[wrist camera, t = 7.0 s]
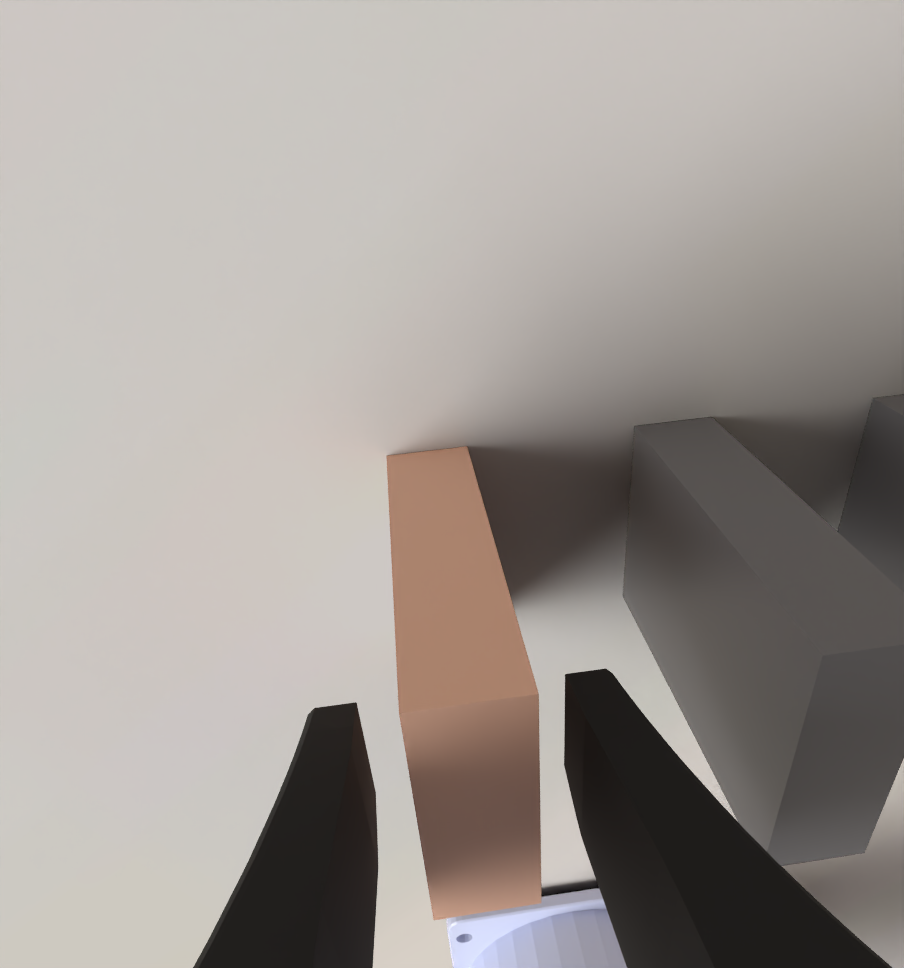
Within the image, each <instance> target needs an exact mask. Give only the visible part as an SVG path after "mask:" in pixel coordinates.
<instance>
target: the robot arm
mask: <svg viewBox="0 0 904 968" xmlns="http://www.w3.org/2000/svg"><path fill="white" fill-rule="evenodd" d="M564 766H565V770H566V774H567V779H568V783H569V787H570V791H571V796H572V800H573V804H574V808H575V812H576V816H577V820H578V824H579V828H580V833H581V836H582V839H583V842H584V845H585V848H586V851H587V854H588V857H589V860H590V863H591V866H592V869H593V871H594V874H595V877H596V880H597V883H598V886H599V888H595V889H589V890H582V891H576V892H569V893H563V894H556V895H550V896H543V897H541V903H540V904H534V905H528V906H521V907H515V908H508V909H502V910H496V911H489V912H483V913H477V914H470V915H464V916H458V917H451V918H447V931H448V938H449V944H450V951H451V957H452V964H453V968H892V967H891V966H890V965H889V964H887V963H886V962H885V961H884V960H883V959H882V958H880V957H879V956H878V955H877V954H876V953H875V952H874V951H872V950H871V949H870V948H869V947H868V946H867V945H866V944H864V943H863V942H862V941H861V940H860V939H859V938H857V937H856V936H855V935H854V934H853V933H852V932H851V931H850V930H849V929H848V928H846V927H845V926H844V925H843V924H842V923H841V922H840V921H839V920H838V919H837V918H836V917H834V916H833V915H832V914H831V913H830V912H829V911H828V910H827V909H826V908H825V907H823V906H822V905H821V904H820V903H819V902H818V901H817V900H816V899H815V898H814V897H813V896H812V895H811V894H810V893H808V892H807V891H806V890H805V889H804V888H803V887H802V886H801V885H800V884H799V883H798V882H797V881H796V880H795V879H794V878H793V877H792V876H791V875H790V874H789V873H788V872H787V871H786V870H785V869H784V868H783V867H782V866H781V865H780V864H778V863H777V862H776V861H775V860H774V859H773V858H772V856H771V855H770V854H769V853H768V852H767V851H766V850H765V849H764V848H763V847H762V846H761V845H760V844H759V843H758V842H757V841H756V840H755V839H754V838H753V837H752V836H751V835H750V834H749V833H748V832H747V831H746V830H745V829H744V828H743V827H742V826H741V825H740V824H739V823H738V822H737V821H736V820H735V819H734V817H733V816H732V815H731V814H730V813H729V812H728V811H727V810H726V809H725V808H724V807H723V806H722V805H721V804H720V803H719V801H718V800H717V799H716V798H715V797H714V796H713V795H712V794H711V792H710V791H709V790H708V789H707V788H706V787H705V786H704V785H703V784H702V782H701V781H700V780H699V779H698V778H697V777H696V776H695V775H694V774H693V772H692V771H691V770H690V769H689V768H688V767H687V766H686V765H685V763H684V762H683V761H682V760H681V759H680V758H679V757H678V755H677V754H676V753H675V752H674V751H673V750H672V748H671V747H670V746H669V745H668V744H667V742H666V741H665V740H664V739H663V738H662V736H661V735H660V734H659V733H658V731H657V730H656V729H655V728H654V727H653V725H652V724H651V723H650V722H649V720H648V719H647V718H646V717H645V715H644V714H643V713H642V712H641V710H640V709H639V708H638V707H637V705H636V704H635V703H634V701H633V700H632V699H631V698H630V696H629V695H628V694H627V692H626V691H625V690H624V688H623V687H622V686H621V684H620V683H619V682H618V680H617V679H616V678H615V676H614V675H613V674H612V673H611V672H610V671H608V670H607V669H600V670H593V671H586V672H578V673H571V674H565V753H564ZM377 879H378V845H377V817H376V792H375V788H374V783H373V778H372V773H371V769H370V764H369V759H368V755H367V750H366V745H365V741H364V736H363V731H362V727H361V722H360V717H359V713H358V708H357V703H349V704H342V705H334V706H327V707H319V708H314V709H313V710H312V711H311V712H310V713H309V714H308V717H307V720H306V723H305V726H304V729H303V732H302V735H301V738H300V741H299V743H298V746H297V749H296V752H295V754H294V757H293V760H292V762H291V765H290V767H289V770H288V772H287V775H286V777H285V780H284V782H283V785H282V787H281V789H280V792H279V794H278V797H277V799H276V801H275V804H274V806H273V808H272V810H271V813H270V815H269V817H268V819H267V822H266V824H265V826H264V828H263V830H262V833H261V835H260V837H259V839H258V841H257V844H256V846H255V848H254V850H253V852H252V855H251V857H250V859H249V861H248V863H247V865H246V867H245V869H244V871H243V873H242V875H241V877H240V879H239V881H238V883H237V885H236V887H235V889H234V891H233V893H232V895H231V897H230V899H229V901H228V903H227V905H226V907H225V909H224V911H223V913H222V915H221V917H220V918H219V920H218V922H217V924H216V926H215V928H214V930H213V932H212V934H211V936H210V938H209V940H208V942H207V944H206V945H205V947H204V949H203V951H202V953H201V955H200V956H199V958H198V960H197V962H196V964H195V965H194V967H193V968H372V966H373V949H374V932H375V915H376V897H377Z"/></svg>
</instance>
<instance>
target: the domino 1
mask: <svg viewBox="0 0 904 968" xmlns="http://www.w3.org/2000/svg"><path fill="white" fill-rule="evenodd" d="M387 474H388V495H389V515H390V536H391V556H392V577H393V597H394V618H395V639H396V659H397V680H398V700H399V715H400V721H401V727H402V733H403V739H404V745H405V751H406V757H407V763H408V769H409V775H410V781H411V787H412V793H413V799H414V805H415V811H416V817H417V823H418V829H419V835H420V841H421V847H422V852H423V858H424V864H425V870H426V876H427V882H428V888H429V894H430V900H431V906H432V912H433V918H434V920H439V919H445V918H451V917H458V916H464V915H470V914H477V913H483V912H489V911H496V910H502V909H508V908H515V907H521V906H528V905H534V904H540V903H541V835H540V761H539V693H538V690H537V687H536V683H535V680H534V676H533V673H532V669H531V666H530V662H529V659H528V655H527V652H526V649H525V645H524V642H523V638H522V635H521V631H520V628H519V624H518V621H517V617H516V614H515V611H514V607H513V604H512V600H511V597H510V593H509V590H508V586H507V583H506V579H505V576H504V573H503V569H502V566H501V562H500V559H499V555H498V552H497V548H496V545H495V541H494V538H493V535H492V531H491V528H490V524H489V521H488V517H487V514H486V510H485V507H484V503H483V500H482V497H481V493H480V490H479V486H478V483H477V479H476V476H475V472H474V469H473V465H472V462H471V458H470V455H469V452H468V448H467V446H466V447H457V448H449V449H440V450H432V451H423V452H415V453H406V454H398V455H389V456H387Z"/></svg>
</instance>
